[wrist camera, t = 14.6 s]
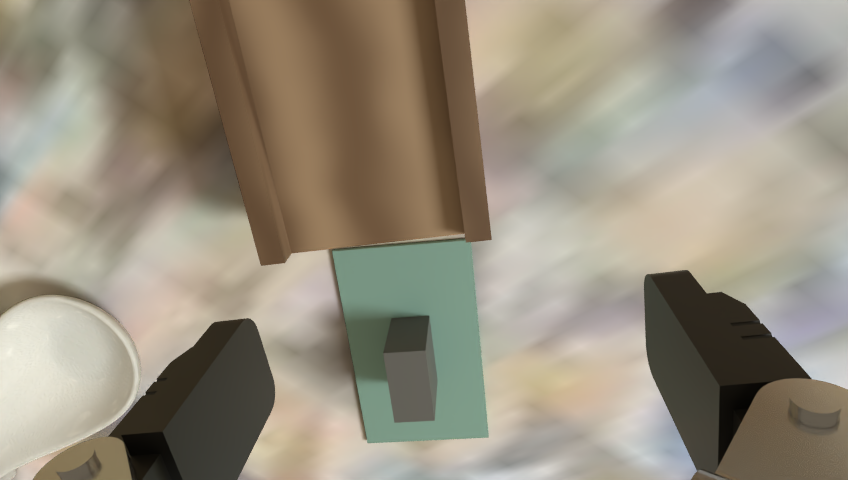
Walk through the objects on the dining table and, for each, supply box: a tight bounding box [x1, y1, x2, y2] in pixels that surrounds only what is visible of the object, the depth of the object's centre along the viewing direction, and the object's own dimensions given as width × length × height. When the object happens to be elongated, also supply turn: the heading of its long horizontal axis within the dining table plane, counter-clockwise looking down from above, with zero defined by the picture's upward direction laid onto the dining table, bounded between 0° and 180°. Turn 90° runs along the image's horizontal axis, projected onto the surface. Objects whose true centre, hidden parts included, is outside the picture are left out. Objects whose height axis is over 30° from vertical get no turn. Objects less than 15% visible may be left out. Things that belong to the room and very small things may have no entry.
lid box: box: [189, 0, 492, 266], centre depth 35 cm, size 14×20×8 cm
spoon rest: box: [0, 295, 141, 480], centre depth 47 cm, size 24×12×7 cm, turn 138°
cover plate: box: [332, 238, 489, 443], centre depth 44 cm, size 10×18×6 cm, turn 7°
